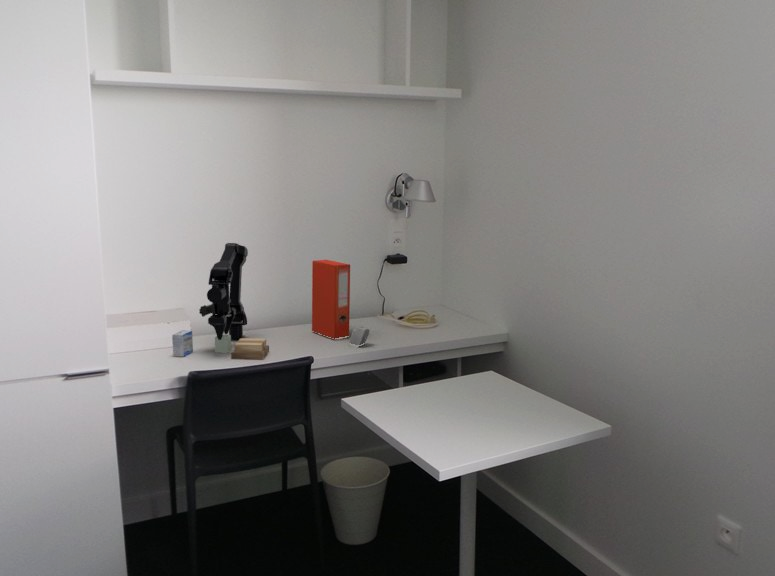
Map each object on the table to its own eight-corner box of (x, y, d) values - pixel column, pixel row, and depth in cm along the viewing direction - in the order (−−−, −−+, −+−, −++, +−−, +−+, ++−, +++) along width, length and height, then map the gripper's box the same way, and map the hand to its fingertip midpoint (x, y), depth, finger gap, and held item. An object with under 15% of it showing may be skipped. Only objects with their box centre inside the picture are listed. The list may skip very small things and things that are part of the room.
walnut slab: (239, 351, 273) (238, 344, 272) (269, 352, 272) (269, 345, 272) (231, 360, 261) (230, 352, 260) (262, 361, 260) (262, 353, 260)
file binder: (327, 330, 309) (327, 259, 304) (349, 337, 296) (350, 264, 290) (311, 332, 304) (311, 260, 299) (334, 340, 291) (334, 265, 285)
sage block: (218, 349, 274) (218, 334, 273) (231, 349, 274) (230, 334, 273) (215, 352, 269) (214, 337, 268) (227, 353, 269) (227, 338, 268)
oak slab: (241, 345, 271) (240, 338, 270) (266, 346, 271) (266, 338, 270) (234, 352, 261) (234, 344, 261) (261, 352, 261) (260, 345, 260)
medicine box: (183, 357, 262) (182, 335, 261) (172, 356, 263) (171, 334, 261) (193, 351, 270) (192, 330, 268) (182, 351, 271) (182, 329, 269)
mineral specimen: (365, 347, 278) (361, 328, 277) (348, 348, 283) (344, 329, 282) (375, 343, 284) (371, 324, 283) (358, 344, 289) (354, 325, 288)
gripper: (208, 293, 278) (209, 330, 280) (193, 302, 259) (195, 342, 262) (235, 293, 277) (236, 331, 280) (223, 302, 259) (224, 343, 262)
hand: (222, 336), depth 271 cm, fingers open, 9 cm apart
